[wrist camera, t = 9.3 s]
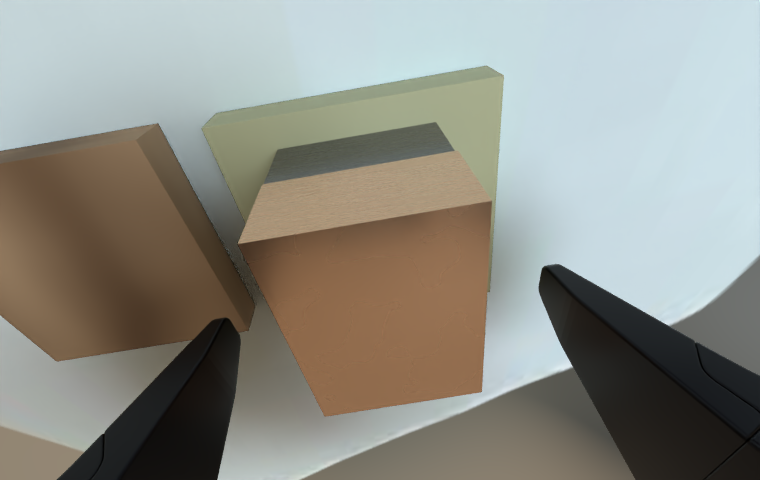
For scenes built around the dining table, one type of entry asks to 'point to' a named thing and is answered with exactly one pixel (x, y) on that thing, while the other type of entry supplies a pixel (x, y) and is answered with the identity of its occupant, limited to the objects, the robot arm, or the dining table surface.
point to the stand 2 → (364, 126)
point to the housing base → (357, 152)
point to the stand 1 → (109, 247)
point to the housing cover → (377, 279)
